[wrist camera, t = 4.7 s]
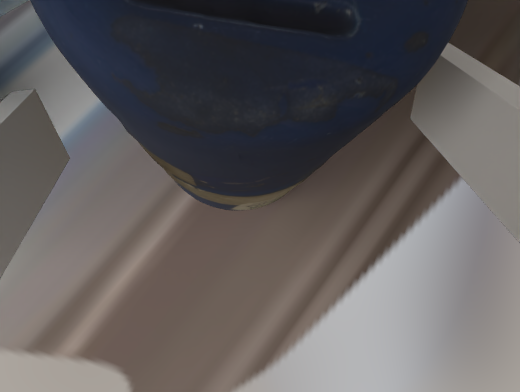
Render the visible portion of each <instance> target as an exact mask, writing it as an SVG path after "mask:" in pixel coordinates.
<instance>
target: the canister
mask: <svg viewBox="0 0 520 392" xmlns="http://www.w3.org/2000/svg"><path fill="white" fill-rule="evenodd" d="M30 1H31V3H32V5H33V7H34V9H35V11H36V13H37V15H38V17H39V18H40V20H41V22H42V23H43V25H44V27H45V28H46V30H47V32H48V34H49V35H50V37H51V39H52V40H53V42H54V43H55V45H56V46H57V48H58V49H59V50H60V52H61V53H62V54H63V56H64V57H65V58H66V59H67V61H68V62H69V63H70V65H71V66H72V67H73V68H74V69H75V71H76V72H77V73H78V74H79V76H80V77H81V78H82V79H83V80H84V82H85V83H86V84H87V85H88V87H89V88H90V89H91V90H92V91H93V92H94V94H95V95H96V96H97V97H98V98H99V99H100V100H101V101H102V103H103V104H104V105H105V106H106V107H107V108H108V109H109V110H110V111H111V112H112V113H113V114H114V115H115V116H116V117H117V118H118V119H119V120H120V122H121V123H122V124H123V126H124V127H125V129H126V130H127V131H128V133H129V134H131V135H132V136H133V137H134V138H135V139H136V140H137V141H138V142H139V143H140V145H141V146H142V147H143V148H144V149H145V151H146V152H147V153H148V154H149V155H150V156H151V157H152V158H153V159H154V160H155V161H156V162H157V163H158V164H159V165H160V166H161V167H162V168H164V170H165V171H166V172H167V173H168V174H169V175H170V176H171V177H172V178H173V179H174V180H175V182H176V183H177V184H178V185H179V186H180V187H181V188H182V189H183V190H184V191H186V192H187V193H188V194H189V195H191V196H192V197H194V198H195V199H197V200H199V201H201V202H202V203H205V204H207V205H210V206H213V207H216V208H221V209H225V210H236V211H237V210H251V209H255V208H259V207H263V206H266V205H268V204H270V203H272V202H274V201H276V200H278V199H279V198H281V197H282V196H284V195H285V194H286V193H288V192H289V191H290V190H291V189H293V188H294V187H295V186H296V185H298V184H299V183H301V182H303V181H304V180H305V179H306V178H307V177H308V176H309V175H310V174H312V173H313V172H314V171H315V170H317V169H318V168H319V167H321V166H322V165H323V164H324V163H325V162H326V161H327V160H328V159H329V158H330V157H331V156H332V155H333V154H335V153H336V152H337V151H338V150H340V149H341V148H342V147H343V146H345V145H346V144H347V143H348V142H350V141H351V140H352V139H353V138H355V137H356V136H357V135H358V134H359V133H361V132H362V131H363V130H364V129H366V128H367V127H368V126H369V125H371V124H372V123H373V122H374V121H376V120H377V119H378V118H379V117H380V116H381V115H382V114H383V113H384V112H386V111H387V110H388V109H389V108H391V107H392V106H393V105H395V104H396V103H397V102H398V101H399V100H400V99H402V98H403V97H404V96H405V95H406V94H407V93H408V92H410V91H411V90H412V89H413V88H414V87H415V86H416V85H417V84H418V83H419V82H420V81H421V80H422V79H423V77H424V76H425V75H426V74H427V73H428V72H429V70H430V69H431V68H432V67H433V65H434V64H435V63H436V61H437V60H438V58H439V56H440V55H441V53H442V52H443V50H444V48H445V47H446V45H447V44H448V42H449V40H450V38H451V36H452V35H453V33H454V31H455V29H456V27H457V25H458V23H459V21H460V19H461V17H462V14H463V12H464V9H465V7H466V4H467V1H468V0H30Z"/></svg>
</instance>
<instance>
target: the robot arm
mask: <svg viewBox="0 0 520 392" xmlns="http://www.w3.org/2000/svg"><path fill="white" fill-rule="evenodd" d="M27 1H28V0H0V17H1V16H3V15H4V14H6V13H8V12H9V11H11V10H13V9H15V8H16V7H18V6H20V5H21V4H23V3H25V2H27ZM410 119H411V120H412V121H413V122H414V124H415V125H416V126H417V127H418V128H419V129H420V130H421V132H422V133H423V134H424V135H425V136H426V137H427V138H428V140H429V141H430V142H431V143H432V144H433V145H434V146H435V147H436V149H437V150H438V151H439V152H440V153H441V154H442V155H443V157H444V158H445V159H446V160H447V161H448V162H449V163H450V165H451V166H452V167H453V168H454V169H455V170H456V171H457V172H458V174H459V175H460V176H461V177H462V178H463V179H464V180H465V182H466V183H467V184H468V185H469V186H470V187H471V188H472V190H473V191H474V192H475V193H476V194H477V195H478V196H479V197H480V199H481V200H482V201H483V202H484V203H485V204H486V205H487V207H488V208H489V209H490V210H491V211H492V212H493V213H494V215H495V216H496V217H497V218H498V219H499V220H500V221H501V223H502V224H503V225H504V226H505V227H506V228H507V229H508V230H509V232H510V233H511V234H512V235H513V236H514V237H515V238H516V240H517V241H518V242H519V243H520V86H518V85H517V84H515V83H513V82H512V81H510V80H508V79H507V78H505V77H504V76H502V75H500V74H499V73H497V72H495V71H494V70H492V69H491V68H489V67H487V66H486V65H484V64H482V63H481V62H479V61H478V60H476V59H474V58H473V57H471V56H469V55H468V54H466V53H465V52H463V51H461V50H460V49H458V48H456V47H455V46H453V45H452V44H450V43H448V44H447V45H446V47H445V48H444V50H443V52H442V53H441V55H440V56H439V58H438V60H437V61H436V63H435V64H434V65H433V67H432V68H431V69H430V70H429V72H428V73H427V74H426V75H425V76H424V77H423V79H422V80H421V81H420V82H419V83H418V84H417V88H416V93H415V97H414V102H413V107H412V112H411V117H410ZM69 159H70V157H69V155H68V153H67V151H66V149H65V147H64V145H63V143H62V141H61V139H60V137H59V136H58V134H57V132H56V130H55V128H54V126H53V124H52V122H51V120H50V118H49V116H48V114H47V112H46V110H45V108H44V106H43V104H42V102H41V100H40V98H39V96H38V94H37V92H36V90H35V89H30V90H21V91H13V92H11V93H10V94H9V95H7V96H6V97H5V98H4V99H3V100H2V101H1V102H0V278H1V276H2V275H3V273H4V271H5V269H6V268H7V266H8V264H9V263H10V261H11V259H12V257H13V256H14V254H15V252H16V250H17V249H18V247H19V245H20V244H21V242H22V240H23V238H24V237H25V235H26V233H27V232H28V230H29V228H30V226H31V225H32V223H33V221H34V219H35V218H36V216H37V214H38V213H39V211H40V209H41V207H42V206H43V204H44V202H45V200H46V199H47V197H48V195H49V194H50V192H51V190H52V188H53V187H54V185H55V183H56V182H57V180H58V178H59V176H60V175H61V173H62V171H63V169H64V168H65V166H66V164H67V163H68V161H69Z"/></svg>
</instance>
